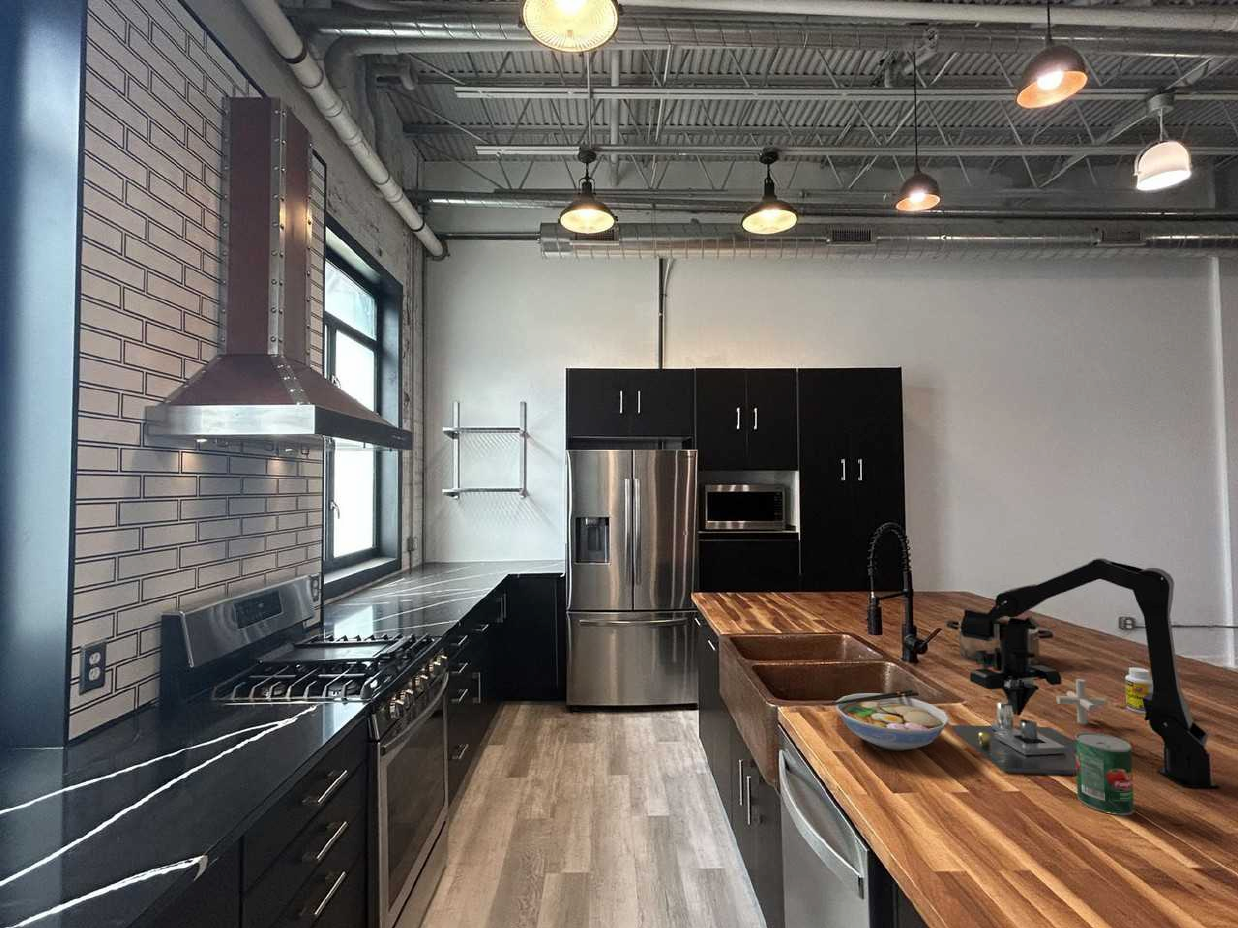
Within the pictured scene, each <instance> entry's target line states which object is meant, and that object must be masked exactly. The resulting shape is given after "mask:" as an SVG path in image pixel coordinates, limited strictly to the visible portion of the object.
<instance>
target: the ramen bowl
mask: <svg viewBox="0 0 1238 928" xmlns="http://www.w3.org/2000/svg"><path fill="white" fill-rule="evenodd" d="M916 696H919V692H917V691H914V690H913V689H907V690H906V689H904V690H899V691H894V692H888V693H877V692H876V693H875V692H868V693H866V692H865V693H862V692H861V693H853V694H848V695H845V696H842V697H841V698H839V699H837V700H836V701H832V702H828V703H823V704H822V705H823V706H833V705H835V708H836V710H837V712H838V714H839V716H840V718H841V719H842V721H843V723H844V724H845V725H846V726H847V727H848V729H850V730H851V731H852V733H854V735H855V734H856V736H858V737H859V738H861V739H862V740H864V741H866V742H868V743H871V744H874V745H875V746H877V747H879V748H881V749H885V750H889V751H894V752H895V751H896V752H899V751H900V752H901V751H906V750H915V749H918V748H921V747H925V746H927V745H930V744H932V743H933V742H934V741H935V740H936V739H937V737H939V735H941V734H942V732H943V731H944V729H945V728H946V727H947V725H948V723H949V721H950V718H949V716H948V715H947V713H946V712H945V711H943V710H942V709H940V708H939V707H937V706H935V705H933V704H931V703H928V702H926V701H922V700H919V699H916V698H912V697H916Z"/></svg>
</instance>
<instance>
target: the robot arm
mask: <svg viewBox="0 0 1238 928" xmlns="http://www.w3.org/2000/svg"><path fill="white" fill-rule="evenodd" d="M1097 580H1103V581H1106V582H1109V583H1111V584H1113V585H1116V586H1119V587H1122V588H1124V589H1128V590H1132V591H1133V595H1134V598H1135V600H1136V602H1137V605H1138V608H1140V612H1141V614H1142V616H1143V619H1144V626H1145V634H1146V643H1147V650H1148V657H1149V665H1150V671H1151V674H1150V675H1151V679H1152V681H1153V693H1149V692H1147V693H1146V695H1145V696H1144V698H1143V699H1142V700H1143V704H1144V707H1145V710H1146V714H1145V717H1144V722H1145V721H1148V722H1149V723H1148V724H1149V726H1150V728H1151V730H1152V731H1153V732H1155V733H1156V734H1157V735H1158V736H1159V737H1160V738H1161V739H1162V742H1163V744H1164V746H1163V763H1164V765H1163V767H1164V768H1156V772H1157V773H1159V774H1160V775H1162V776H1164V777H1166V778H1168V779H1170V780H1171V781H1173V782H1175V783H1176V784H1178V785H1181V786H1182V787H1184V788H1204V789H1207V788H1210V789H1211V788H1212V789H1213V788H1214V789H1220V788H1221V786H1220V784H1219V783H1217V782H1215V781H1213V780H1211V777H1212V776H1211V760H1210V759H1211V758H1210V753H1208V752H1207V751H1208V750H1207V749H1205V748H1206V747H1207V743H1208V740H1209V737H1210V736H1209V735H1210V734H1208V733H1207V732H1206V731H1205V730H1204V729H1202V728H1201V727H1200V725H1198V724H1197V723H1196V722H1195V721H1194V719H1193V716H1192V713H1191V710H1190V707H1189V704H1188V701H1187V700H1186V697H1185V695H1184V692H1182V689H1181V686H1180V679H1179V672H1178V666H1177V665H1178V663H1177V658H1176V657H1177V656H1176V651H1175V650H1176V649H1175V643H1174V635H1173V629H1172V621H1171V612H1172V607H1173V606H1172V605H1173V598H1174V589H1175V582H1174V579H1173V576H1172V575H1171V574H1170V573H1168V572H1167V571H1166V570H1163V569H1161V568H1157V567H1147V568H1145V569H1144V568H1141V567H1137V566H1134V565H1128V564H1125V563H1121V562H1115V561H1111V560H1109V559H1106V558H1102V557H1100V558H1099V557H1098V558H1095V559H1092V560H1090V561H1089V562H1087V563H1086V564H1083V565H1081V566H1077V567H1076V568H1073V569H1071V570H1069V571H1065V572H1064V573H1063V572H1062V573H1061V574H1058V575H1057V576H1056V575H1055V576H1052V577H1051V578H1048V579H1046V580H1043V581H1041V582H1039V583H1038V582H1037V583H1035V584H1028V585H1024V586H1020V587H1015V588H1011V589H1008V590H1005V591H1002V592H1000V593H999V594H997V595H996V597H995V605H994V606H993V607H992V608H991V609H990V610H989V612H988V611H981V610H976V609H973V608H966V609H964V613H963V614H964V615H963V617H962V620H961V621H962V624H961V633H962V635H963V637H965V638H971V639H977V640H983V641H989V642H992V640H993V638H997V637H998V634H999V639H1000V647H996V648H995V653H994V654H988V653H987V652H986V650H980V651H975V661H976V662H975V663H976V665H977V666H979V665H980V666H981V665H982V668H977V669H972V670H971V671H970V674H969V677H970V679H969V680H970V682H971V683H974V684H976V685H977V686H981V688H984V689H986V690H987V689H988V690H1001V689H1002V691H1003V692H1004V695H1005V696H1006V698H1007V702H1009V703H1011V704H1012V705H1013V716H1014V715H1015V716H1017V717H1020V715H1021V714H1022V712H1023V711H1024V709H1025V707H1026V706H1027V705H1028V703H1029V701H1030V700H1031V698H1032V696H1033V695H1034V694H1035V692H1036V691H1038V690H1040V687H1039V686H1037V685H1035V682H1034V681H1037V680H1045V681H1046V682H1047V684H1048V685H1050V686H1058V685H1062V675H1061V674H1060V672H1059V670H1057V669H1054V668H1051V667H1048V666H1045V665H1044V664H1043V665H1042V664H1038V665H1036V666H1030V658H1034V653H1033V652H1030V646H1029V629H1033V630H1035V629H1039V628H1041V627H1040V626H1041V624H1039V623H1038V622H1037V621H1036V620H1035V619H1034V618H1033V617H1032V616H1028V617H1026V618H1017V617H1019V616H1021V615H1023V614H1026V613H1027V612H1029V611H1030V610H1032V609H1033V608H1036V607H1037V606H1039V605H1040V604H1042V603H1043V602H1045V601H1046V600H1048V599H1050V598H1053V597H1057V596H1058V595H1061V594H1063V593H1066V592H1069V591H1072V590H1074V589H1077V588H1080V587H1082V586H1084V585H1087V584H1090V583H1093V582H1095V581H1097ZM1004 617H1009V619H1008V620H1004V619H1001V618H1004ZM998 624H999V625H998ZM989 668H992V669H993V670H991V669H989ZM996 671H997V672H996ZM998 671H999V672H998Z"/></svg>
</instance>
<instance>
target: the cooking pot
mask: <svg viewBox="0 0 1238 928" xmlns="http://www.w3.org/2000/svg"><path fill="white" fill-rule="evenodd" d="M961 624H962V620H961V621H955V620H949V621H947V622H946V624H945V625H946V627H947V628H948V629H949V628H950V629H953V630H954V631H955V630H956V631H958V632H959V634H958V635H959V654H960V655H961V656H962V657H963V658H964V659H966V660H968V659H969V661H972V662H974V663H976V661H975V651H980V650H986V652H987V653H988V654H994V653H995V648H996V647H1000V639H999V634H998V637H997V638H993V640H992V642H989V641H983V640H977V639H971V638H965V637H963V635H962V633H961ZM998 625H999V624H998ZM1052 638H1054V633H1053V631H1050V630H1043V629H1039V628H1037V629H1035V630H1033V629H1029V646H1030V652H1033V653H1034V658H1030V666H1036V665H1040V659H1041V658H1040V640H1043V639H1052Z"/></svg>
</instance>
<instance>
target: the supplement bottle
mask: <svg viewBox="0 0 1238 928" xmlns="http://www.w3.org/2000/svg"><path fill="white" fill-rule="evenodd" d="M1150 675H1151V674H1150V670H1149V669H1146V668H1141V667H1128V674H1127V675H1125V681H1124V682H1125V703H1126V708H1127V709H1128V710H1130V711H1132V712H1134V713H1139V714H1142V715H1143V714H1144V715H1146V710H1145V707H1144V704H1143V700H1142V699H1143V698H1144V696H1145V695H1146V693H1147V692H1149V693H1153V681H1152V677H1151V676H1150Z"/></svg>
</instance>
